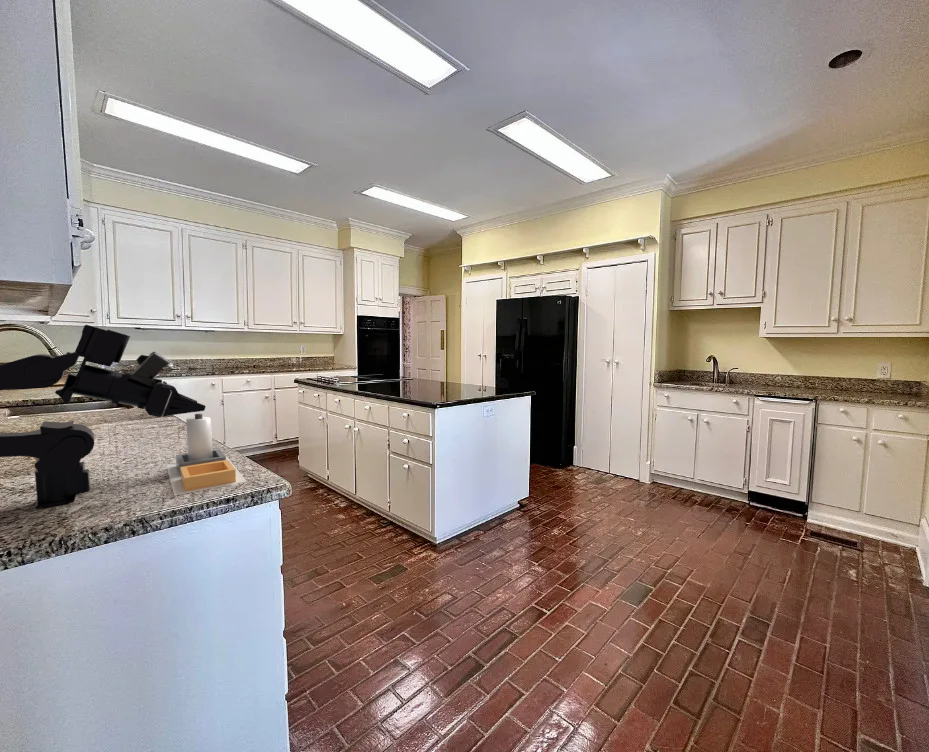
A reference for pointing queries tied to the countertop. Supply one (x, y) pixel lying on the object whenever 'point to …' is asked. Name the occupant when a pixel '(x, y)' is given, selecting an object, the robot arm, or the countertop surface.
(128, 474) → the countertop surface
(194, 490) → the dock
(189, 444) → the white bottle
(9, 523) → the countertop surface
